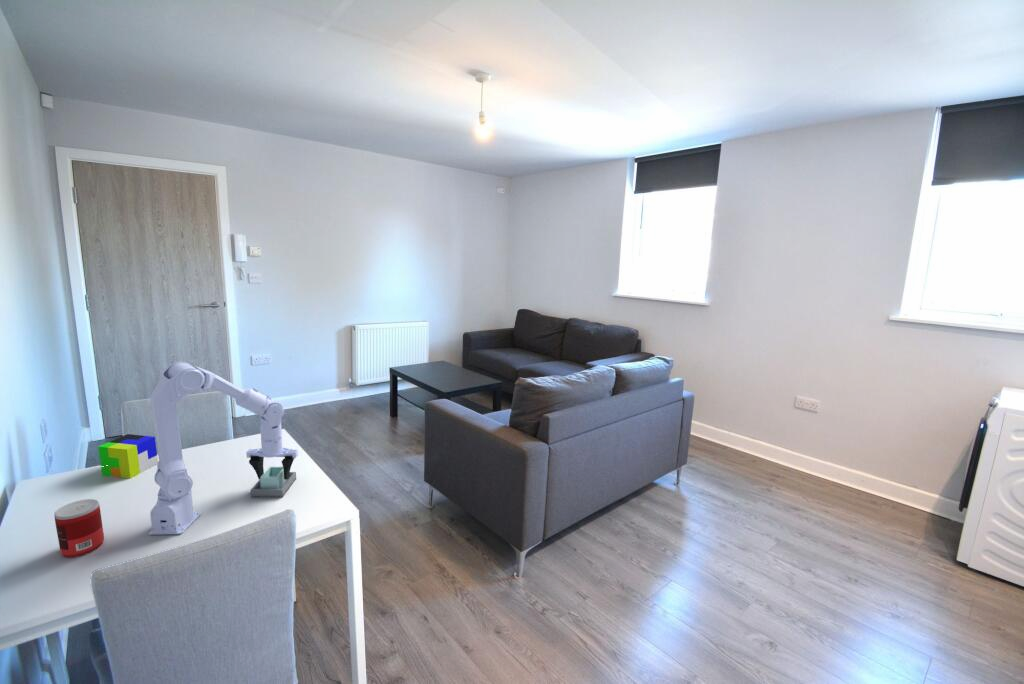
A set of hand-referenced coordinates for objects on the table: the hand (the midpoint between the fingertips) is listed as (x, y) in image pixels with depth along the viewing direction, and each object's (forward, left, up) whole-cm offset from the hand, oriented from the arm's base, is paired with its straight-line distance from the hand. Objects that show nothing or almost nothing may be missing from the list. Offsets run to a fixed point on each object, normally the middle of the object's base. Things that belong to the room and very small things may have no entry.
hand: (273, 477), depth 141 cm
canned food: (-28, +34, -4) cm, 44 cm away
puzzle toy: (+12, +50, -4) cm, 52 cm away
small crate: (0, 0, -3) cm, 3 cm away
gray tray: (0, 0, -3) cm, 3 cm away
